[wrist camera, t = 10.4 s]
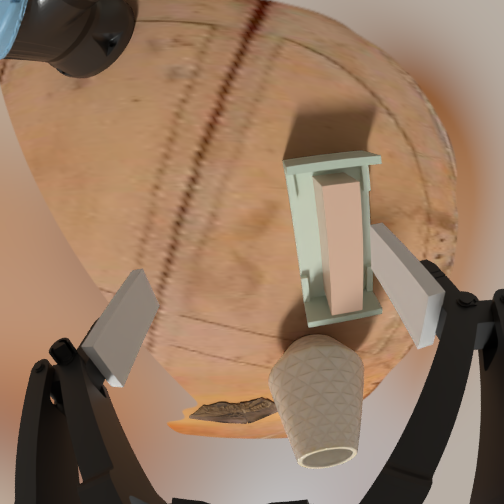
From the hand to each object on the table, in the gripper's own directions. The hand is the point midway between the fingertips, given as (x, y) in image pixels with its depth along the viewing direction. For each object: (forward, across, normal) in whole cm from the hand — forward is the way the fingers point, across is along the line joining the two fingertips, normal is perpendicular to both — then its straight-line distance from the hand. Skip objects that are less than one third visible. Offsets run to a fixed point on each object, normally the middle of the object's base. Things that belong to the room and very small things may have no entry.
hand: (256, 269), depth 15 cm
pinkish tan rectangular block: (+24, +9, -10) cm, 27 cm away
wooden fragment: (+24, -18, -54) cm, 61 cm away
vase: (+24, +3, -35) cm, 43 cm away
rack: (+25, +9, -10) cm, 28 cm away
